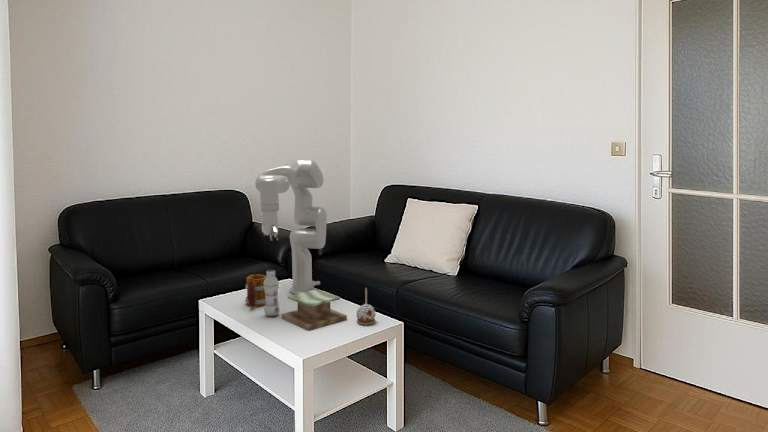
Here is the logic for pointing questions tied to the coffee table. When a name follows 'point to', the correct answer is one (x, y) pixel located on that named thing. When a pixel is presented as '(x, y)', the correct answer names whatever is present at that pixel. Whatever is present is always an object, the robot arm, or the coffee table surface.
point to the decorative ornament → (366, 313)
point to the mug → (255, 291)
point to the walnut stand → (313, 310)
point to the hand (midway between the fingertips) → (271, 247)
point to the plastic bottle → (271, 294)
